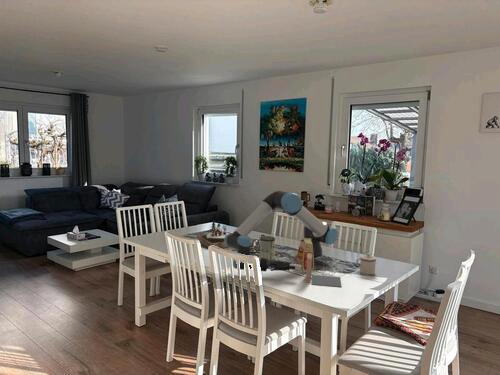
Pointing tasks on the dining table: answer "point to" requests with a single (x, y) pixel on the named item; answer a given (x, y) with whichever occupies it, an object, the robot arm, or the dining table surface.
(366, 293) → the dining table surface
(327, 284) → the mat
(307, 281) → the tile
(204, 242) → the diorama tray
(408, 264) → the dining table surface
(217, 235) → the miniature diorama
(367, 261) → the teacup with lid
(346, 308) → the dining table surface
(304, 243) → the milk carton
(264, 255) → the coffee can
